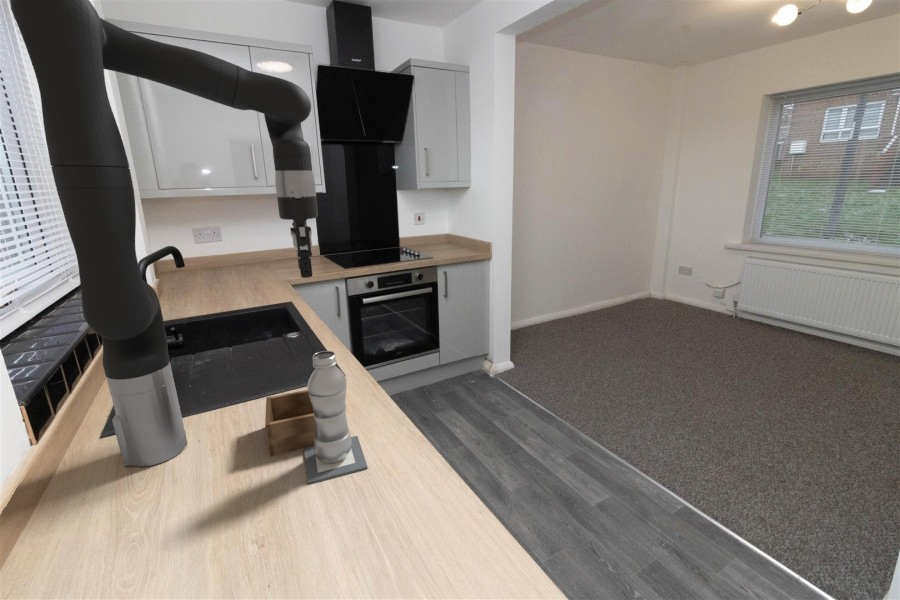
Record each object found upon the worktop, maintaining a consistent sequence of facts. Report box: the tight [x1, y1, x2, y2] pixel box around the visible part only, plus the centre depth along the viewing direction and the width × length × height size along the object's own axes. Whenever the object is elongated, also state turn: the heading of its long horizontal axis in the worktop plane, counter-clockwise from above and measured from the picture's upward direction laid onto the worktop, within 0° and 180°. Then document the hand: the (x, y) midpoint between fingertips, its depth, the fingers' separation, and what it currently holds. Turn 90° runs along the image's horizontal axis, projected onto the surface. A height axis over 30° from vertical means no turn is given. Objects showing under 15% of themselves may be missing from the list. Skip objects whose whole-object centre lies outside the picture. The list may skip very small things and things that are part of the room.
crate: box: [264, 389, 315, 457], centre depth 82 cm, size 11×11×6 cm
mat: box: [303, 435, 369, 485], centre depth 75 cm, size 10×10×1 cm
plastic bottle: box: [306, 350, 352, 463], centre depth 72 cm, size 6×7×20 cm
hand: (305, 273), depth 87 cm, fingers open, 8 cm apart
